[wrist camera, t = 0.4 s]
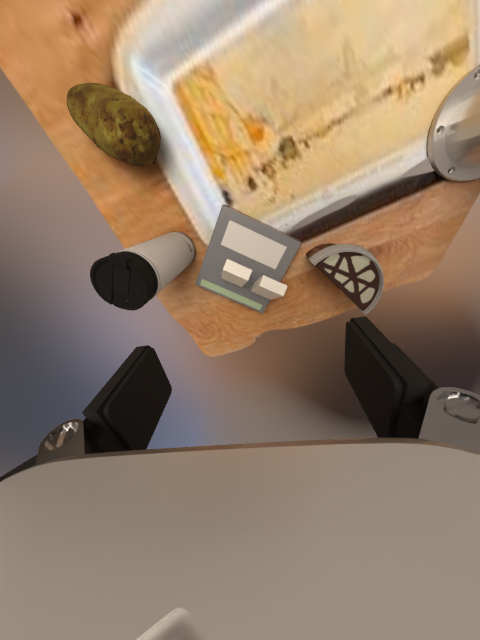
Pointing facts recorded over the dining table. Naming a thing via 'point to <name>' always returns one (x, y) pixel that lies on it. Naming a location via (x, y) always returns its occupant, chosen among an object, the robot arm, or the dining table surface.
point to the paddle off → (268, 288)
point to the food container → (351, 272)
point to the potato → (115, 123)
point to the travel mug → (141, 270)
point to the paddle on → (235, 273)
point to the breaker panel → (245, 256)
